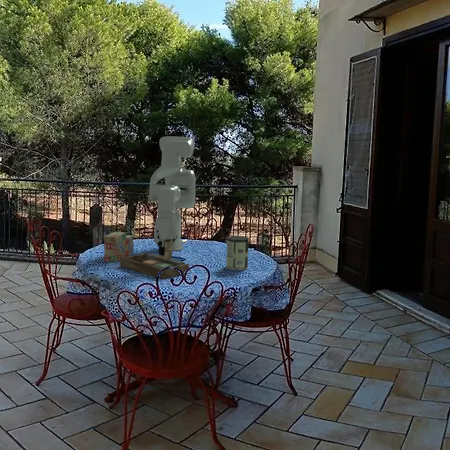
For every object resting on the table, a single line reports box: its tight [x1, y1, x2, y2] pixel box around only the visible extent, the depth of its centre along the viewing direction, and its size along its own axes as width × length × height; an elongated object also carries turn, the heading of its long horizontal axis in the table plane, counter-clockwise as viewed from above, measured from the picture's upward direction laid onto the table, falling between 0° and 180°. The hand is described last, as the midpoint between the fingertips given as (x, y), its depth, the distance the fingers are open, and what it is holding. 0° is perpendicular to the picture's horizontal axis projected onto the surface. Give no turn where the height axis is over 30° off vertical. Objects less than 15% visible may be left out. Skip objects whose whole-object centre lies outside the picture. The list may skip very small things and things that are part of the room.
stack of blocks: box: [103, 231, 134, 263], centre depth 245 cm, size 21×6×12 cm, turn 169°
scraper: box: [147, 240, 186, 267], centre depth 228 cm, size 4×22×11 cm, turn 50°
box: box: [119, 252, 190, 280], centre depth 223 cm, size 15×28×4 cm, turn 50°
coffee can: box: [225, 235, 250, 271], centre depth 232 cm, size 10×10×14 cm
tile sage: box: [154, 262, 173, 269], centre depth 223 cm, size 6×6×3 cm
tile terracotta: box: [143, 260, 162, 266], centre depth 227 cm, size 6×6×3 cm
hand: (165, 254), depth 228 cm, fingers closed on scraper, 4 cm apart
